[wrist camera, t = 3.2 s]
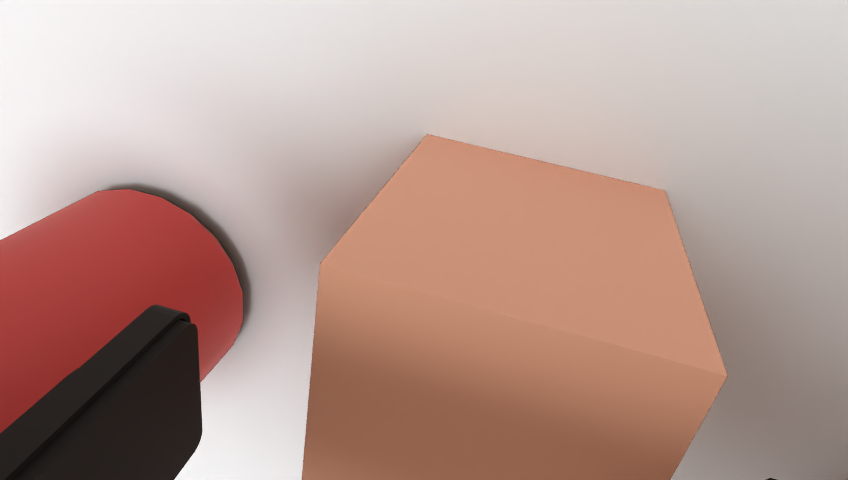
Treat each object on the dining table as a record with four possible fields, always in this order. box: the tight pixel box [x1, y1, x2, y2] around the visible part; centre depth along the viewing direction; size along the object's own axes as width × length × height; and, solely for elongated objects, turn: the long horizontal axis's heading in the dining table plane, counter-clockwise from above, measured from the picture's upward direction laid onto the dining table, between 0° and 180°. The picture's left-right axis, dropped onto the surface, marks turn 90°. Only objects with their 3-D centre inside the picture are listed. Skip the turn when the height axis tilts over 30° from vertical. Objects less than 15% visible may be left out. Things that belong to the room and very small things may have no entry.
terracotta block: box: [302, 134, 727, 480], centre depth 13 cm, size 6×6×7 cm
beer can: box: [0, 189, 243, 433], centre depth 14 cm, size 7×7×12 cm
